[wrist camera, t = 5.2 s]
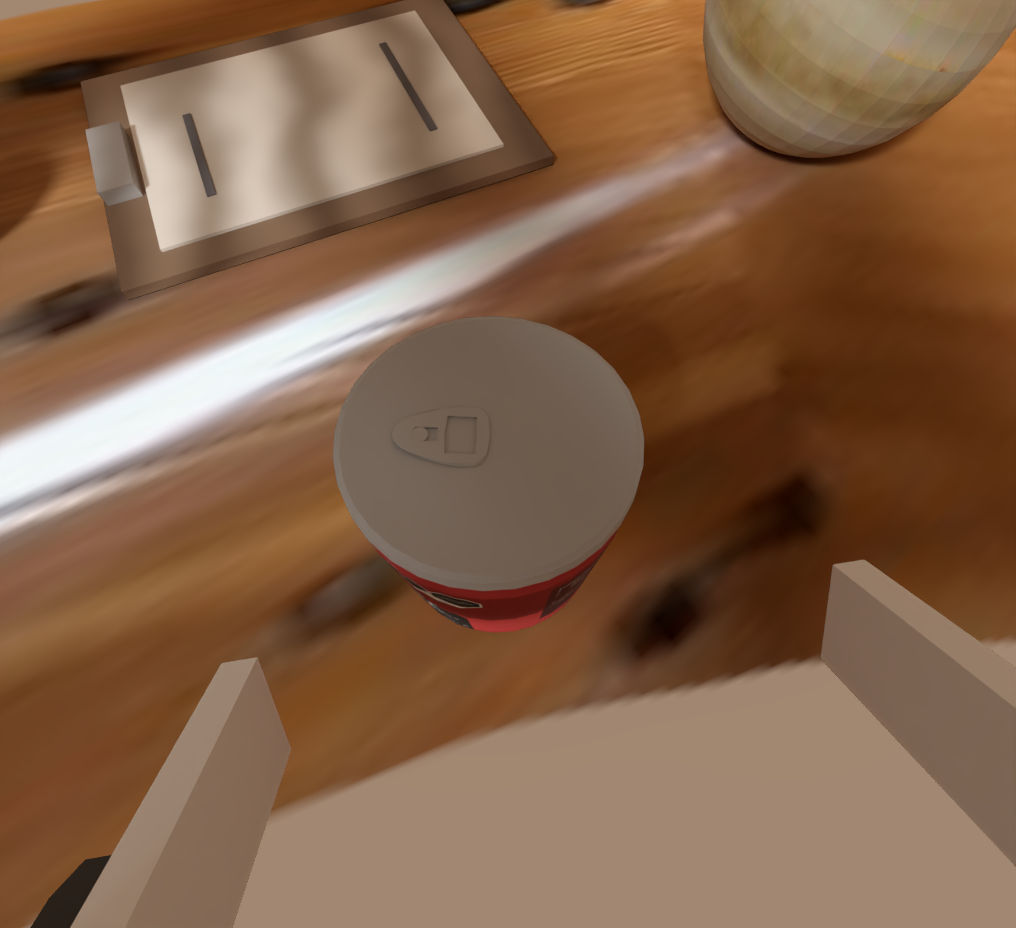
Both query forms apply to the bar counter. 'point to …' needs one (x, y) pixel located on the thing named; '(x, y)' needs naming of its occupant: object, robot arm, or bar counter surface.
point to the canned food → (490, 465)
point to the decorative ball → (845, 66)
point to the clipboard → (296, 139)
